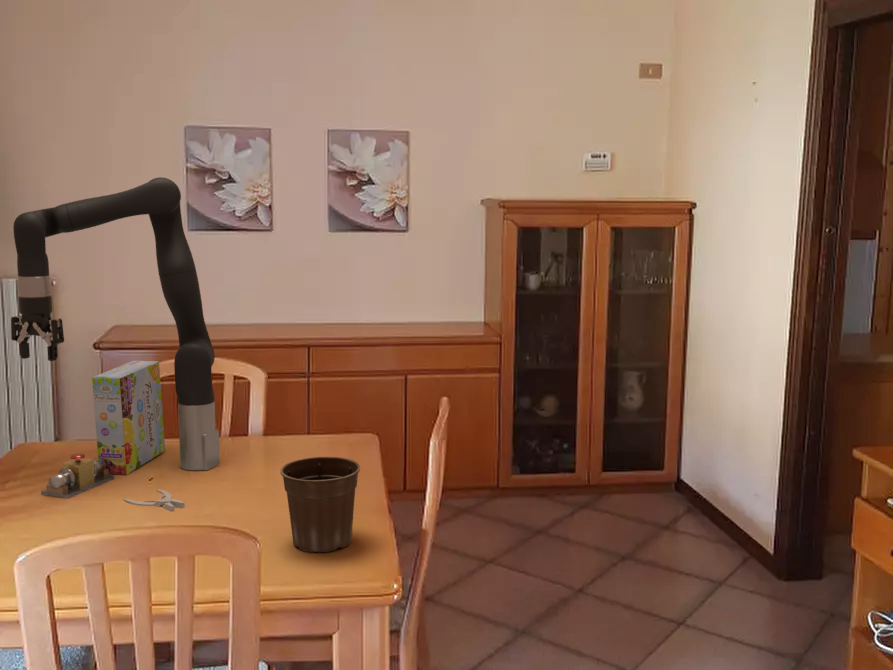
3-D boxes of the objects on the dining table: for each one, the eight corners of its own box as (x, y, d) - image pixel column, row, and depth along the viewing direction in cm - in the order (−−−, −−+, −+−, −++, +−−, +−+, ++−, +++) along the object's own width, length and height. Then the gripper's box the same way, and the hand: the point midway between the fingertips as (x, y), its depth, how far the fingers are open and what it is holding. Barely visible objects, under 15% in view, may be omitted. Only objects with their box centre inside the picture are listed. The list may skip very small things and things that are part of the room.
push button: (94, 481, 227) (93, 453, 226) (79, 487, 222) (78, 459, 221) (78, 479, 228) (76, 451, 227) (63, 485, 224) (61, 456, 223)
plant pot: (278, 559, 183) (276, 480, 180) (284, 529, 199) (283, 456, 196) (360, 556, 184) (360, 479, 182) (360, 527, 200) (360, 455, 198)
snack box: (136, 450, 257) (132, 359, 252) (166, 452, 255) (162, 360, 251) (95, 473, 235) (90, 375, 231) (127, 475, 234) (122, 376, 230)
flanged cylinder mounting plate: (88, 475, 234) (87, 453, 233) (114, 478, 231) (113, 456, 231) (41, 494, 219) (39, 471, 219) (67, 498, 217) (66, 475, 216)
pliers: (159, 485, 223) (196, 498, 214) (159, 491, 223) (196, 505, 214) (122, 495, 215) (159, 510, 206) (122, 502, 216) (159, 516, 206)
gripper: (69, 294, 226) (72, 358, 229) (23, 291, 231) (27, 354, 234) (46, 297, 219) (50, 364, 222) (0, 294, 224) (4, 359, 227)
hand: (38, 359), depth 228 cm, fingers open, 8 cm apart
